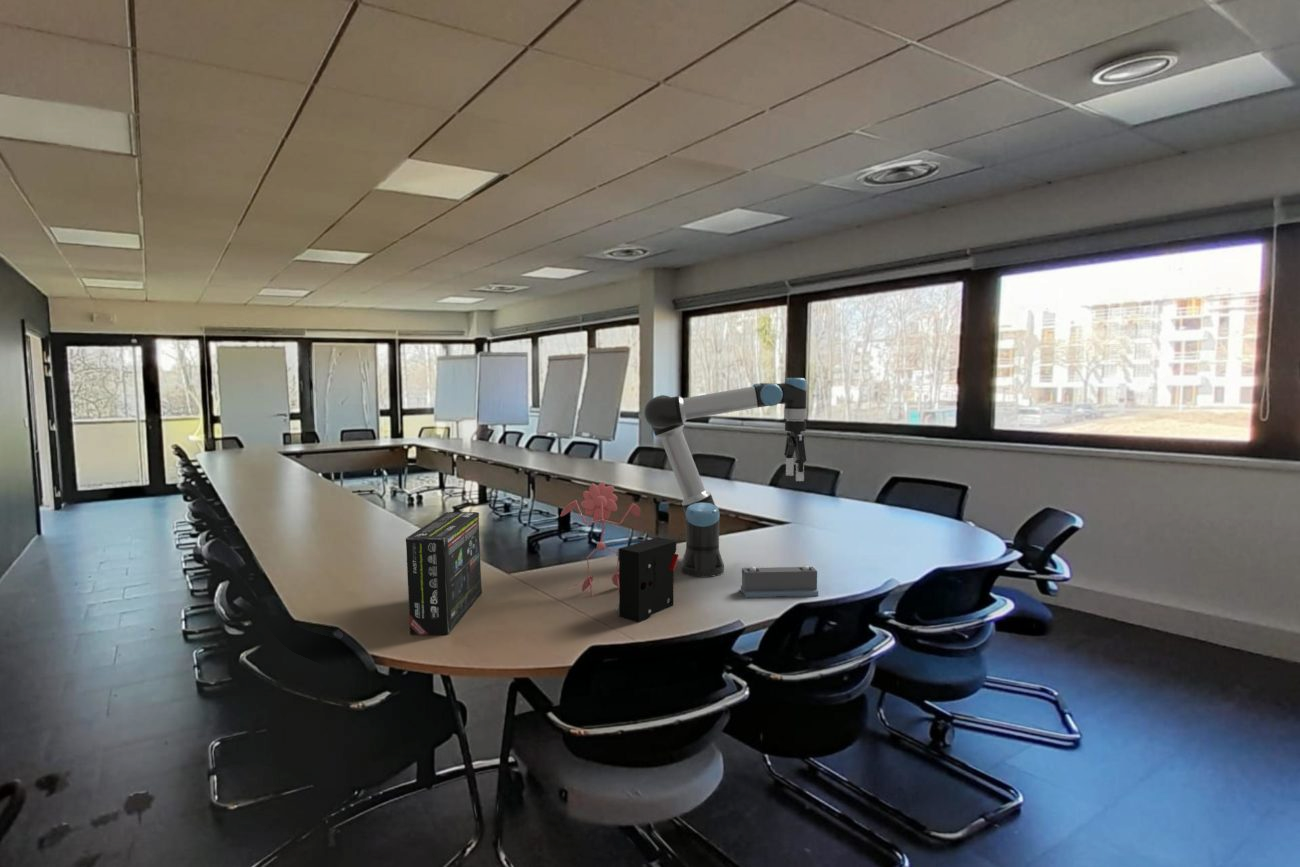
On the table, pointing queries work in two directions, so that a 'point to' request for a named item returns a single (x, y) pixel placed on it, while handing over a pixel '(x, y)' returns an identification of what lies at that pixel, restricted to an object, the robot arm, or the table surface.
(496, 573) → the table surface
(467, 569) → the router box
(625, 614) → the electrical component
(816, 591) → the mounting plate
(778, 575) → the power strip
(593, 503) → the pink flower figurine
